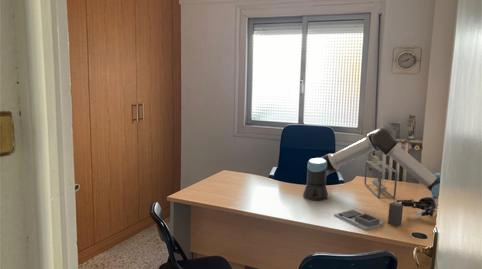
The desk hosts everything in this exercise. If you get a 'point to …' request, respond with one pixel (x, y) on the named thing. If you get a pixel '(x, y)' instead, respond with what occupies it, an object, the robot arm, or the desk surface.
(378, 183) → the newton's cradle
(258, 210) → the desk surface
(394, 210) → the brick
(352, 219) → the charging dock
